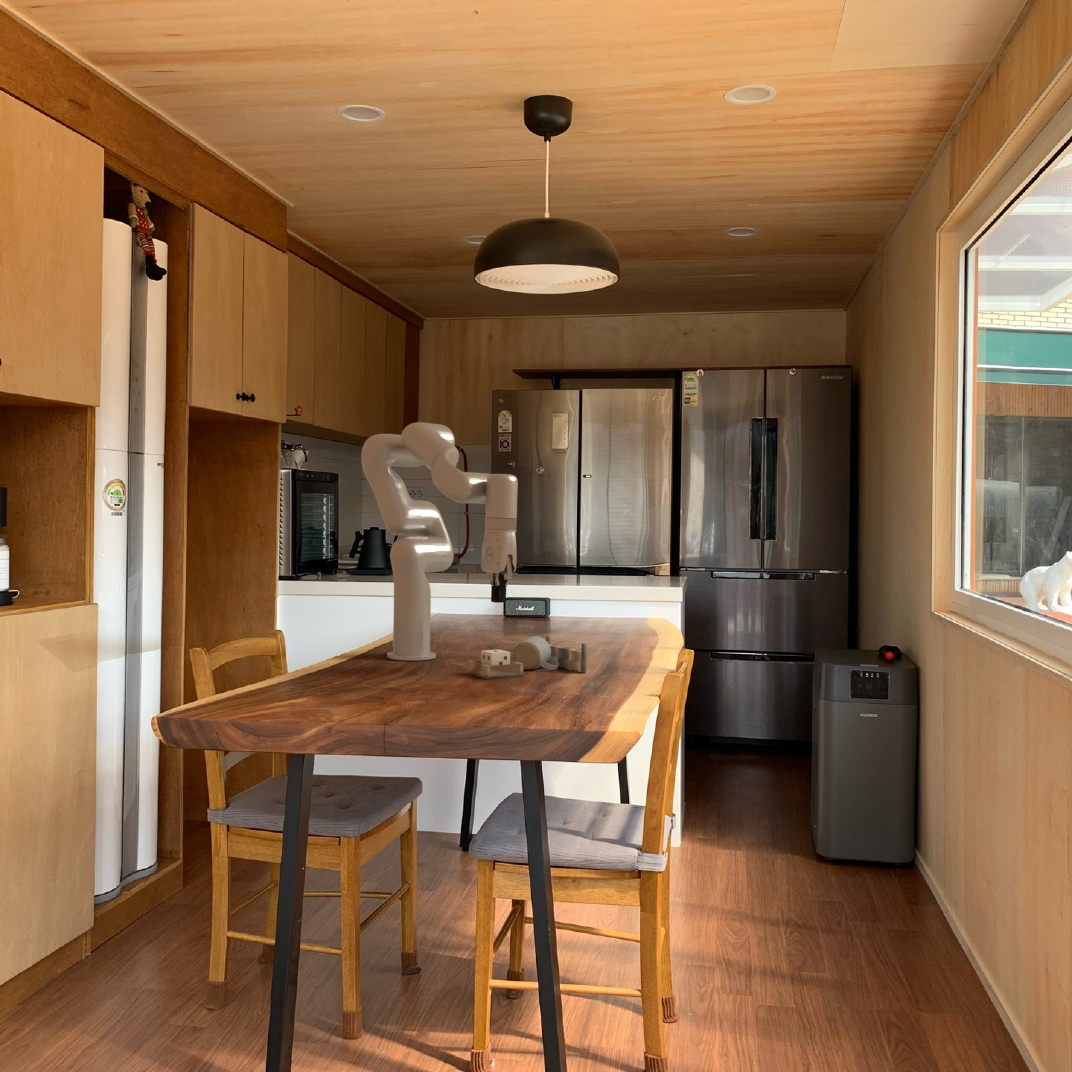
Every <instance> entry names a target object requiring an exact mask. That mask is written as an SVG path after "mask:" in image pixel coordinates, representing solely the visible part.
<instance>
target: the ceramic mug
mask: <svg viewBox="0 0 1072 1072" xmlns="http://www.w3.org/2000/svg"><path fill="white" fill-rule="evenodd" d="M550 656H551V648H550V646H549V644H548V642H547V641H546V638H545V639H544V638H543V637H541V636H539V635H538V636H537V635H532V636H529V637H527V638H526V639H524V640H523V641H521V642H519V644H517V645H516V647H515V648H514V651H513V659H514V660H513V661H515V662H519V663H523V671H533V670H536V669H538V668H543V669H545V670H548V671H551V670H555V671H557V670H558V669H559V668H558V666H559V663H558V662H557V661H556V660H555V659H554V658H552V657H550ZM547 662H548V663H547ZM549 663H550V664H549ZM551 664H552V665H551Z"/></svg>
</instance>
